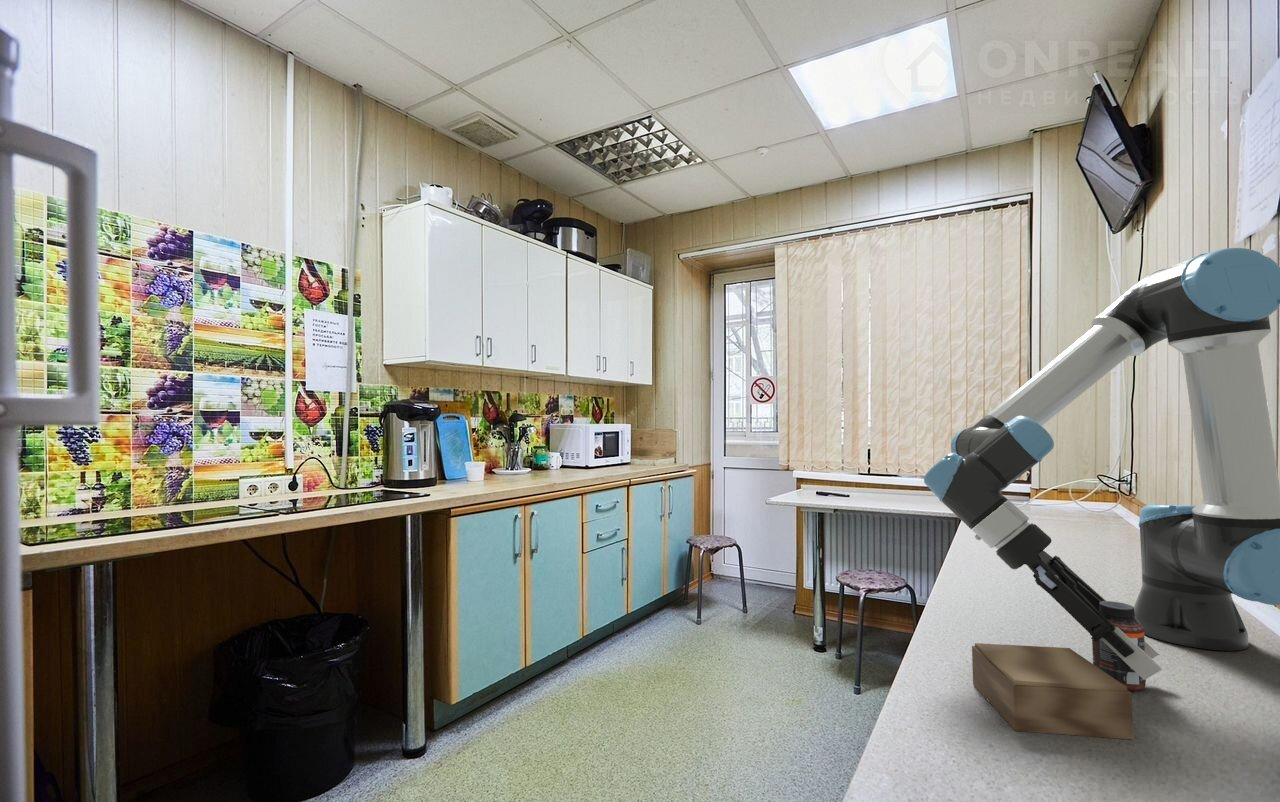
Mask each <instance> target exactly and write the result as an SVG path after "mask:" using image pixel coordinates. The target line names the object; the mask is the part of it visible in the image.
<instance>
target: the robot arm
mask: <svg viewBox="0 0 1280 802" xmlns="http://www.w3.org/2000/svg"><path fill="white" fill-rule="evenodd" d="M1279 308H1280V265H1279V264H1278V263H1277V262H1276V261H1275V260H1273V259H1272V258H1271V257H1269V256H1265V255H1264V254H1263V253H1261V252H1260V251H1257V250H1256V249H1255V250H1254V249H1250V248H1244V247H1227V248H1221V249H1219V250H1214V251H1210V252H1206V253H1200V254H1198V255H1197V256H1194V257H1193V258H1190V259H1188V260H1185V261H1182V262H1180V263H1177V264H1174V265H1171V266H1169V267H1166V268H1162V269H1160V270H1157V271H1154V272H1152V273H1150V274H1148V275H1147V276H1144V277H1143V278H1141V280H1138V281H1137V282H1136V283H1134V284H1133V285H1132V286H1131V287H1130V288H1129V289H1127V290H1126V291H1125V292H1124V293H1122V294H1121V295H1120V296H1119V297H1117V299H1115V300H1114V301H1113V302H1112V303H1111V304H1110V305H1108V306H1107V307H1105V309H1104V310H1102V311H1101V312H1100V313H1099V314H1098V315H1096V316H1095V317H1094V318H1093V319H1092V321H1091V328H1090V329H1088V331H1087V332H1085V333H1084V334H1083V335H1081V336H1080V337H1079V338H1078V339H1077V340H1076V341H1074V342H1073V343H1072V344H1071V345H1070V346H1068V347H1067V348H1066V349H1065V350H1063V351H1062V352H1061V353H1060V354H1059V355H1058V356H1056V357H1055V358H1054V359H1053V360H1051V361H1050V362H1049V363H1048V364H1047V365H1046V366H1044V367H1043V368H1042V369H1041V370H1039V371H1038V372H1037V373H1036V374H1035V375H1033V376H1032V377H1031V378H1029V380H1028V381H1026V382H1025V383H1024V384H1023V385H1022V386H1020V387H1019V388H1018V389H1017V390H1015V391H1014V392H1013V393H1012V394H1011V395H1009V396H1008V397H1007V398H1005V399H1004V400H1003V401H1001V403H999V404H998V405H997V406H996V407H995V408H994V409H993V410H991V411H989V413H988V414H987V415H985V416H984V417H983V418H981V419H980V420H979V421H978V422H976V423H975V424H974V425H973V426H971V427H967V428H964V429H961V430H959V431H958V432H957V433H955V434H954V436H953V438H952V439H951V442H950V451H951V453H948V454H947V455H945V456H944V457H943V458H941V459H940V460H938V461H937V463H935V464H934V465H932V467H931V468H930V469H929V470H928V471H927V472H926V474H925V475H924V478H923V482H924V484H925V485H926V487H927V488H928V489H929V490H931V492H932V493H933V494H934V495H935V496H936V497H937V498H938V500H939V502H941V503H942V504H944V505H945V507H947V509H949V510H950V511H951V512H952V513H953V514H954V515H955V516H956V517H957V518H959V519H960V521H961V522H963V524H965V525H966V526H967V527H968V528H969V529H970V530H972V532H973V533H975V535H974V538H975V539H976V540H977V541H981V540H982V541H983V542H984V543H985V545H987V546H988V547H989V548H990V549H994V548H996V549H997V550H995V554H996V556H997V557H999V559H1000V560H1002V561H1003V562H1004V564H1006V565H1007V566H1008V567H1009V568H1010V569H1011V570H1017V569H1020V568H1021V567H1022V566H1025V565H1026V566H1027V567H1028V568H1029V569H1030V571H1031V572H1032V573H1033V575H1032V576H1033V578H1034V582H1035V583H1036V585H1037V586H1039V587H1040V588H1041V589H1043V591H1045V592H1046V593H1048V594H1049V596H1050V597H1052V598H1053V599H1054V600H1055V601H1056V602H1057V603H1058V604H1059V606H1061V607H1062V608H1063V609H1064V610H1065V611H1066V612H1067V613H1068V614H1069V615H1070V616H1072V618H1073V619H1074V620H1075V621H1076V622H1077V623H1079V625H1080V626H1081V627H1083V629H1084V630H1086V631H1087V633H1089V635H1090V636H1091V637H1090V638H1091V641H1092V640H1094V641H1095V642H1096V641H1098V640H1100V639H1101V640H1102V641H1103V642H1104V643H1105V644H1106V645H1107V646H1109V647H1110V648H1111V649H1112V650H1113V651H1114V652H1115V653H1116V654H1117V655H1118V656H1119V657H1120V658H1121V659H1122V660H1123V661H1124V662H1125V663H1126V664H1127V665H1129V666H1130V667H1131V668H1132V669H1133V670H1134V671H1135V672H1136V673H1137V674H1138V675H1139V676H1140V677H1141V678H1142V679H1143V680H1145V679H1146V680H1147V679H1148V678H1151V677H1152V676H1154V675H1156V674H1157V673H1159V672H1160V671H1163V668H1162V667H1161V666H1160V665H1159V663H1157V662H1156V661H1155V660H1154V659H1155V658H1156V657H1158V656H1159V655H1160V652H1159V651H1157V650H1156V649H1155V648H1154V646H1152V645H1151V644H1150V643H1149V642H1148V641H1147V639H1144V641H1145V642H1144V645H1145V652H1144V651H1143V650H1142V649H1141V648H1140V647H1139V646H1137V645H1136V644H1135V643H1134V642H1133V641H1132V640H1131V639H1130V638H1129V637H1128V636H1127V635H1126V634H1124V633H1123V632H1122V631H1121V630H1120V629H1119V628H1118V627H1116V628H1115V627H1114V625H1113V624H1111V623H1110V622H1109V621H1108V620H1107V619H1106V618H1105V617H1104V616H1103V615H1102V614H1101V612H1100V611H1099V603H1100V602H1102V601H1106V599H1105V598H1103V597H1102V596H1101V595H1100V594H1099V593H1098V592H1097V591H1096V590H1095V589H1093V588H1092V587H1091V586H1090V585H1089V584H1088V583H1087V582H1085V580H1083V579H1082V578H1081V577H1080V576H1078V574H1077V573H1075V571H1073V570H1072V569H1071V568H1070V567H1069V566H1068V565H1067V564H1066V563H1065V562H1064V561H1063V560H1062V559H1061V558H1060V556H1057V555H1054V556H1053V557H1052V556H1051V555H1050V554H1049V553H1047V551H1045V549H1046V548H1047V547H1048V546H1049V545H1051V543H1052V537H1050V536H1049V535H1048V534H1047V533H1046V532H1045V531H1043V529H1041V528H1040V527H1039V526H1038V525H1037V524H1036V523H1030V522H1028V521H1029V520H1030V519H1029V516H1027V515H1026V514H1025V513H1024V512H1023V511H1021V509H1020V508H1018V507H1017V506H1016V505H1015V504H1014V503H1013V502H1012V501H1010V500H1008V498H1007V497H1005V495H1004V494H1003V493H1002V491H1004V490H1005V489H1006V488H1007V487H1008V486H1010V485H1011V484H1012V483H1013V482H1015V481H1016V480H1017V479H1019V478H1020V477H1021V476H1023V475H1024V474H1025V473H1026V472H1028V471H1029V470H1030V469H1031V468H1033V467H1034V466H1035V465H1037V464H1038V463H1040V462H1042V460H1043V459H1044V458H1045V457H1046V456H1048V454H1049V453H1050V452H1051V451H1052V450H1053V449H1054V447H1055V442H1054V439H1053V437H1052V435H1051V434H1050V433H1049V432H1048V431H1047V429H1045V428H1044V427H1043V426H1044V425H1045V424H1047V423H1048V422H1049V421H1050V420H1051V419H1053V418H1054V417H1055V416H1057V415H1058V414H1059V413H1060V412H1062V411H1063V410H1064V409H1065V408H1066V407H1067V406H1068V405H1070V404H1071V403H1072V402H1073V401H1075V400H1076V399H1078V397H1080V396H1081V395H1082V394H1084V393H1085V392H1087V391H1088V389H1090V388H1091V387H1093V385H1095V384H1096V383H1097V382H1099V380H1101V379H1102V378H1104V376H1106V375H1107V374H1108V373H1109V372H1111V371H1113V370H1114V369H1115V368H1116V367H1117V366H1118V365H1120V364H1121V363H1122V362H1124V360H1126V359H1127V358H1128V357H1129V356H1130V357H1136V356H1140V355H1142V354H1143V353H1144V352H1145V351H1147V350H1148V349H1149V348H1151V347H1152V346H1153V345H1156V344H1157V343H1159V342H1162V341H1163V340H1164V341H1165V339H1167V343H1168V345H1169V346H1170V347H1171V348H1173V349H1176V350H1177V351H1179V352H1181V354H1182V359H1183V360H1182V361H1183V366H1184V375H1185V380H1186V386H1187V394H1188V401H1189V406H1190V407H1189V408H1190V414H1191V415H1190V416H1191V423H1192V430H1193V436H1194V443H1195V451H1196V457H1197V464H1198V471H1199V478H1200V479H1199V480H1200V486H1201V487H1200V488H1201V492H1202V493H1201V494H1202V500H1201V501H1200V502H1199V503H1198V504H1197V505H1182V504H1181V505H1179V504H1178V505H1174V504H1171V505H1170V504H1169V505H1168V504H1148V505H1144V506H1143V507H1142V508H1141V509H1140V511H1139V521H1138V528H1139V537H1140V538H1139V539H1140V558H1141V559H1140V561H1141V563H1140V564H1141V582H1142V583H1141V588H1140V591H1139V593H1138V595H1137V597H1136V599H1135V600H1136V601H1135V603H1134V606H1133V607H1134V611H1135V617H1134V618H1135V619H1136V621H1137V622H1139V623H1140V624H1141V625H1142V626H1143V628H1144V636H1148V637H1152V638H1154V639H1157V640H1159V641H1163V642H1166V643H1167V642H1168V643H1172V644H1175V645H1180V646H1185V647H1189V648H1196V649H1204V650H1212V651H1224V652H1225V651H1229V652H1231V651H1233V652H1234V651H1241V650H1246V649H1247V648H1248V647H1249V633H1248V630H1247V628H1246V626H1245V623H1244V622H1243V620H1242V616H1241V615H1240V613H1239V611H1238V608H1237V607H1236V604H1235V602H1234V600H1233V597H1232V596H1233V595H1235V596H1236V597H1239V598H1240V599H1243V600H1245V601H1246V600H1247V601H1251V602H1257V603H1261V604H1265V605H1269V606H1277V607H1278V606H1279V607H1280V479H1279V473H1278V468H1277V461H1276V453H1275V446H1274V440H1273V434H1272V428H1271V422H1270V421H1271V419H1270V414H1269V408H1268V400H1267V393H1266V389H1265V388H1266V386H1265V381H1264V380H1265V379H1264V374H1263V373H1264V372H1263V367H1262V360H1261V354H1260V349H1259V347H1260V346H1259V345H1260V343H1261V341H1262V340H1264V339H1265V338H1266V337H1267V336H1268V335H1269V334H1270V333H1271V332H1272V329H1271V324H1270V323H1271V322H1270V316H1271V315H1272V314H1273V313H1275V312H1276V311H1277V310H1278V309H1279ZM1097 624H1098V625H1097Z"/></svg>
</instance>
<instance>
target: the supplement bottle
mask: <svg viewBox="0 0 1280 802" xmlns="http://www.w3.org/2000/svg"><path fill="white" fill-rule="evenodd" d="M1099 611H1100V612H1101V614H1102V615H1103V616H1104V617H1105V618H1106V619H1107V620H1108V621H1109V622H1110V623H1111V624H1113V625H1114V627H1115V628H1116V627H1118V628H1119V629H1120V630H1121V631H1122V632H1123V633H1124V634H1126V635H1127V636H1128V637H1129V638H1130V639H1131V640H1132V641H1133V642H1134V643H1135V644H1136V645H1137V646H1139V647H1140V648H1141V649H1142V650H1143V651H1144V652H1145V645H1144V642H1145V641H1144V640H1145V634H1144V628H1143V626H1142V625H1141V624H1140V623H1139V622H1137V621H1136V619H1135V618H1134V617H1135V611H1134V606H1133V605H1131V604H1128V603H1125V602H1119V601H1113V600H1105V601H1102V602H1100V603H1099ZM1097 625H1098V624H1097ZM1091 644H1092V645H1091V647H1092V664H1094V665H1095V666H1097V667H1098V668H1099V669H1101V670H1102V671H1104V672H1105V673H1107V674H1108V675H1110V676H1111V677H1113V678H1114V679H1116V680H1117V681H1119V682H1120V683H1121V684H1123V685H1124V686H1126V687H1127V690H1128V691H1130V692H1133V691H1134V692H1135V691H1141V690H1144V689H1145V688H1146V685H1147V684H1146V682H1147V679H1145V680H1143V679H1142V678H1141V677H1140V676H1139V675H1138V674H1137V673H1136V672H1135V671H1134V670H1133V669H1132V668H1131V667H1130V666H1129V665H1127V664H1126V663H1125V662H1124V661H1123V660H1122V659H1121V658H1120V657H1119V656H1118V655H1117V654H1116V653H1115V652H1114V651H1113V650H1112V649H1111V648H1110V647H1109V646H1107V645H1106V644H1105V643H1104V642H1103V641H1102V640H1101V639H1100V640H1098V641H1096V642H1095V641H1094V640H1092V639H1091Z"/></svg>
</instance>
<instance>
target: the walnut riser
mask: <svg viewBox="0 0 1280 802" xmlns="http://www.w3.org/2000/svg"><path fill="white" fill-rule="evenodd" d="M971 654H972V655H971V656H972V657H971V658H972V659H971V661H972V663H971V664H972V685H973V686H974V687H975V688H976V689H977V691H978V692H980V693H981V695H983V697H984V698H985V699H986V701H988V703H989V704H990V705H991V706H992V708H994V709H995V710H996V711H997V712H998V713H999V715H1000V716H1001V717H1002V718H1003V719H1004V720H1005V722H1007V724H1008V725H1009V726H1010V727H1011V728H1012V729H1013V730H1014V732H1015V731H1016V732H1025V733H1026V732H1028V733H1039V734H1041V733H1042V734H1056V735H1065V736H1066V735H1068V736H1069V735H1070V736H1081V737H1095V738H1107V739H1123V740H1134V723H1133V721H1134V719H1133V695H1132V691H1130V690H1127V687H1126V686H1124V685H1123V684H1121V683H1120V682H1119V681H1117V680H1116V679H1114V678H1113V677H1111V676H1110V675H1108V674H1107V673H1105V672H1104V671H1102V670H1101V669H1099V668H1098V667H1097V666H1095V665H1094V664H1093V662H1091V661H1089V660H1088V659H1086V658H1084V657H1083V656H1082V655H1080V654H1078V653H1077V652H1076V651H1075V650H1073V649H1071V648H1070V647H1060V646H1059V647H1057V646H1056V647H1055V646H1054V647H1053V646H1039V645H1038V646H1037V645H1036V646H1035V645H1019V644H1018V645H1017V644H1016V645H1015V644H997V643H980V642H975V643H974V645H971Z"/></svg>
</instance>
